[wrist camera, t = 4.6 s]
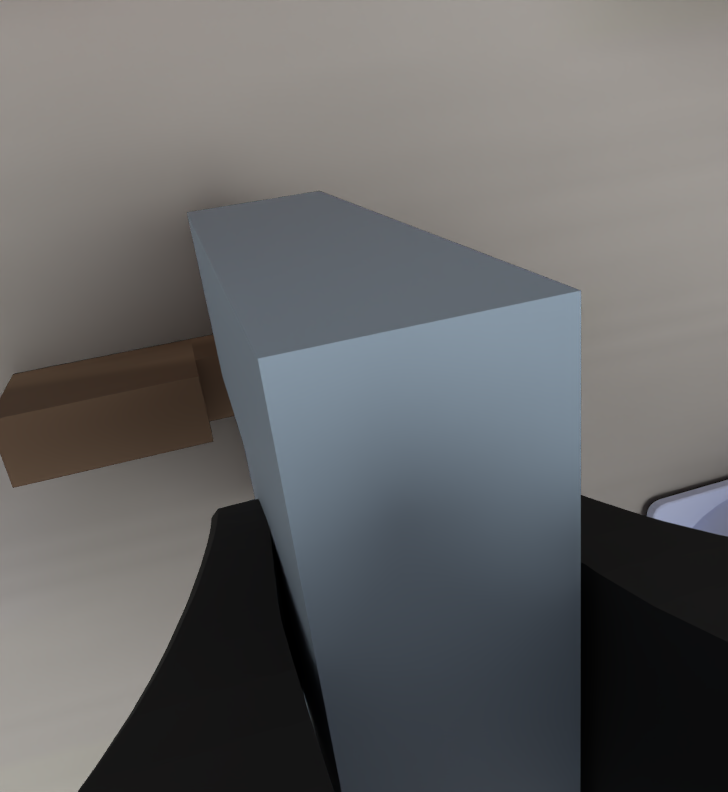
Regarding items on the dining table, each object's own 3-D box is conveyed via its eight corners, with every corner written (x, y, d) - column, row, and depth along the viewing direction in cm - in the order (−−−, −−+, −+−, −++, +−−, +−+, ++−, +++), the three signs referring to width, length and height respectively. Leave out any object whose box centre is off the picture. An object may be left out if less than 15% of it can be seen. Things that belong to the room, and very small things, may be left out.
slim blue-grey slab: (376, 588, 16) (579, 996, 9) (275, 618, 16) (397, 1079, 8) (319, 191, 13) (580, 290, 5) (186, 212, 12) (257, 359, 5)
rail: (470, 337, 20) (520, 370, 17) (33, 432, 18) (13, 487, 15) (467, 283, 20) (518, 308, 17) (13, 374, 17) (-13, 420, 14)
